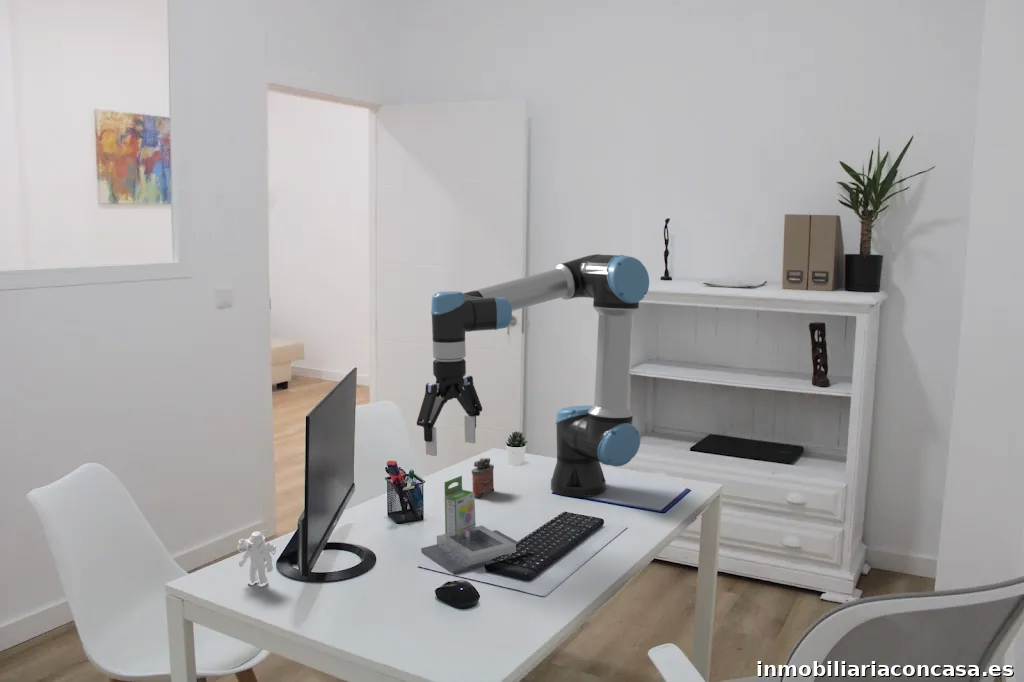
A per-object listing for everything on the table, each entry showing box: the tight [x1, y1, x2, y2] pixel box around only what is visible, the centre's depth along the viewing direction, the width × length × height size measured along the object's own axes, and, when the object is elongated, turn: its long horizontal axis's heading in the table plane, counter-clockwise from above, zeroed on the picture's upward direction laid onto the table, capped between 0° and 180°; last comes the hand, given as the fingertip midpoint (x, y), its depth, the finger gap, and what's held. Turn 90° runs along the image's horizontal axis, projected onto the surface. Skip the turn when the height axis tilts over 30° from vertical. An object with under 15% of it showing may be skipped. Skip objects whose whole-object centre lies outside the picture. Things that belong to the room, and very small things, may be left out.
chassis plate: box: [420, 525, 520, 575], centre depth 200 cm, size 20×15×3 cm
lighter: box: [471, 457, 495, 500], centre depth 241 cm, size 8×3×10 cm, turn 144°
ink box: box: [444, 475, 477, 539], centre depth 211 cm, size 7×4×13 cm, turn 144°
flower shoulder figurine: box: [236, 528, 277, 584], centre depth 184 cm, size 9×4×12 cm, turn 69°
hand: (451, 448), depth 207 cm, fingers open, 13 cm apart
